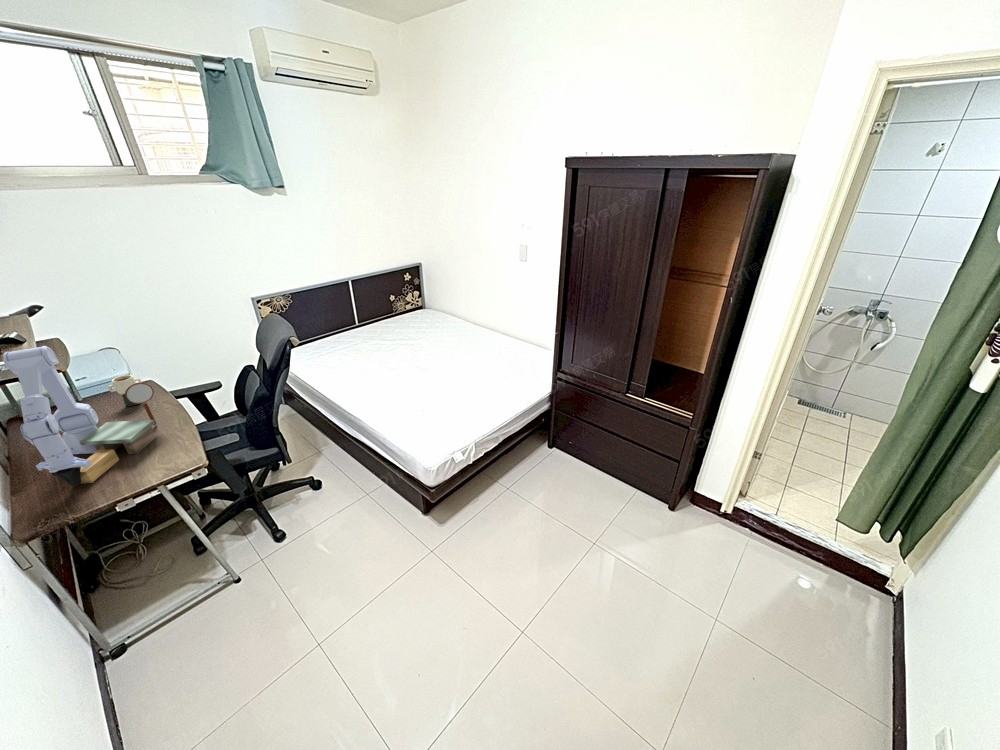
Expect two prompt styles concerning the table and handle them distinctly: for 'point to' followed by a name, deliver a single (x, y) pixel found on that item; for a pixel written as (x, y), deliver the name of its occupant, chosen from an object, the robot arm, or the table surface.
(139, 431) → the socket shed
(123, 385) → the character mug
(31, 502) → the table surface
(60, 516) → the table surface
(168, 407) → the table surface
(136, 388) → the magnifying glass
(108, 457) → the peg
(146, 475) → the table surface
